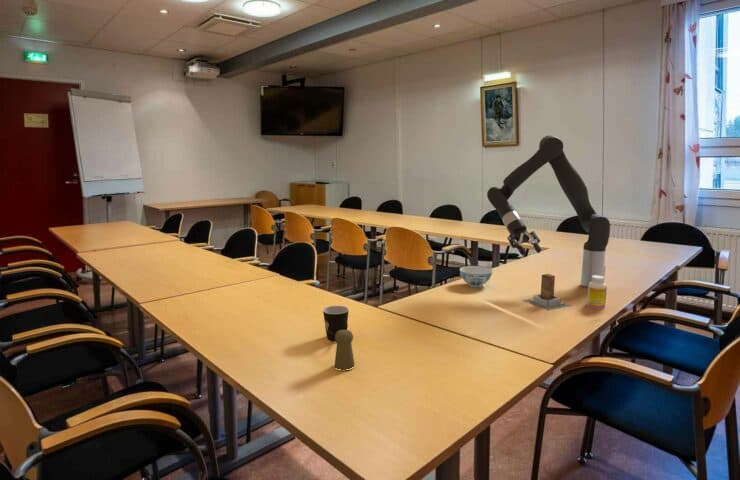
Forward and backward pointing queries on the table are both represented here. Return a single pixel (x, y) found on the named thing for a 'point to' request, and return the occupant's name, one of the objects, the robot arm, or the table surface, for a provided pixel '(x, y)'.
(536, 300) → the open square frame
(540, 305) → the coaster
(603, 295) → the supplement bottle
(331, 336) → the coffee mug
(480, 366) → the table surface
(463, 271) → the chinaware
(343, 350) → the cork
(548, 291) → the brown wooden block
